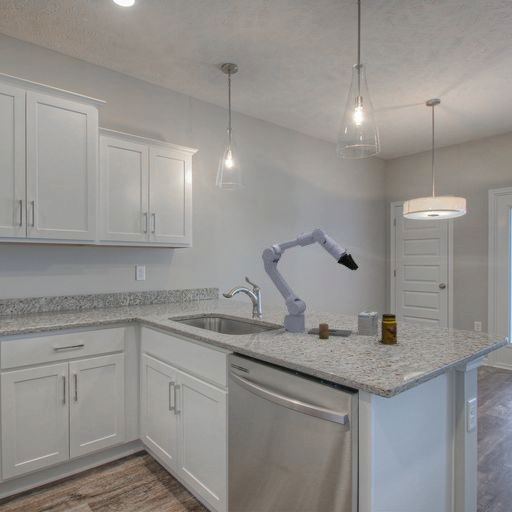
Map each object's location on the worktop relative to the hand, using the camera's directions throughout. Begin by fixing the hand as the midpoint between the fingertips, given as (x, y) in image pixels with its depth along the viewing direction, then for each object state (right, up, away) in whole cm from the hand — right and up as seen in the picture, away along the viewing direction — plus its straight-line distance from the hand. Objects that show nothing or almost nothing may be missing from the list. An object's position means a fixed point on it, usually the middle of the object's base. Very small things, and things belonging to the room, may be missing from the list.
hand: (355, 268), depth 166 cm
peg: (-15, -30, -7) cm, 34 cm away
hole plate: (-11, -31, +4) cm, 33 cm away
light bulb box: (+7, -31, +4) cm, 32 cm away
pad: (-15, -31, -7) cm, 35 cm away
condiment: (+11, -31, -9) cm, 34 cm away
